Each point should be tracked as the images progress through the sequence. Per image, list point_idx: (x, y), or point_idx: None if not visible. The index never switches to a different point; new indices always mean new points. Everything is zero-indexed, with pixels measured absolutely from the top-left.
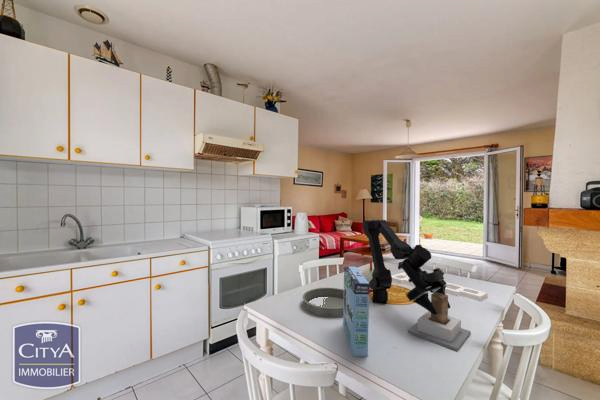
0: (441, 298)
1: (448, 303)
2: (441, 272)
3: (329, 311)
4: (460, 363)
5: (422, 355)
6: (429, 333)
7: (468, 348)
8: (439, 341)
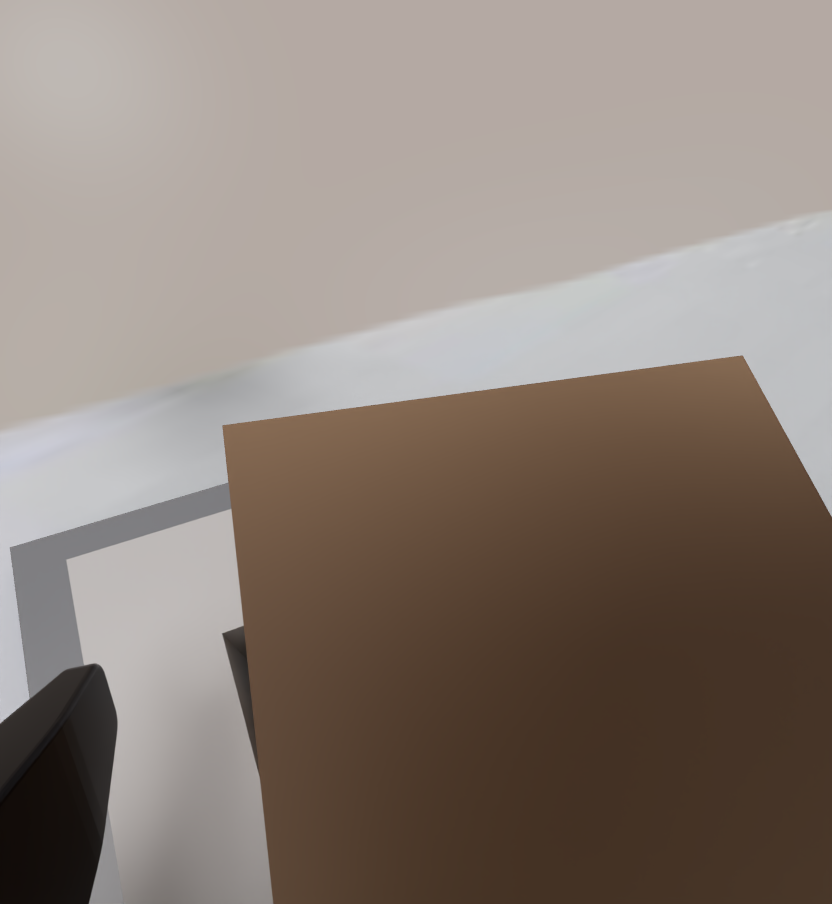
0: (736, 406)
1: (31, 723)
2: None
3: None
4: (626, 316)
5: None
6: None
7: (376, 397)
8: None
